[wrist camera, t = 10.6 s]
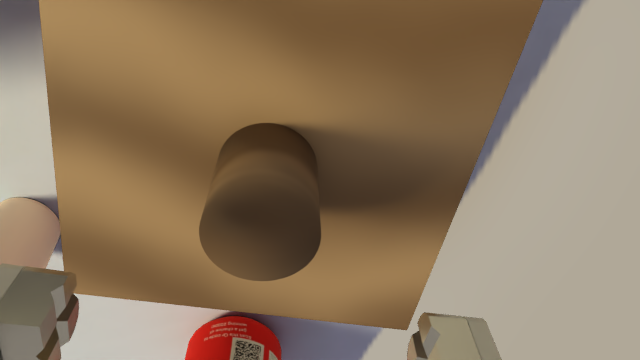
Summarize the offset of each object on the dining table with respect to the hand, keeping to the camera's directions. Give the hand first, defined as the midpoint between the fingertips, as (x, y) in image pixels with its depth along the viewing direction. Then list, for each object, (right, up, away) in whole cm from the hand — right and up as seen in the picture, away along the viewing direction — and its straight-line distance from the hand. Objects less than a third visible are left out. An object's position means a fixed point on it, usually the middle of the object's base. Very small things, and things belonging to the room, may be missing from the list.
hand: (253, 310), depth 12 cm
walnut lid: (0, +4, +7) cm, 8 cm away
